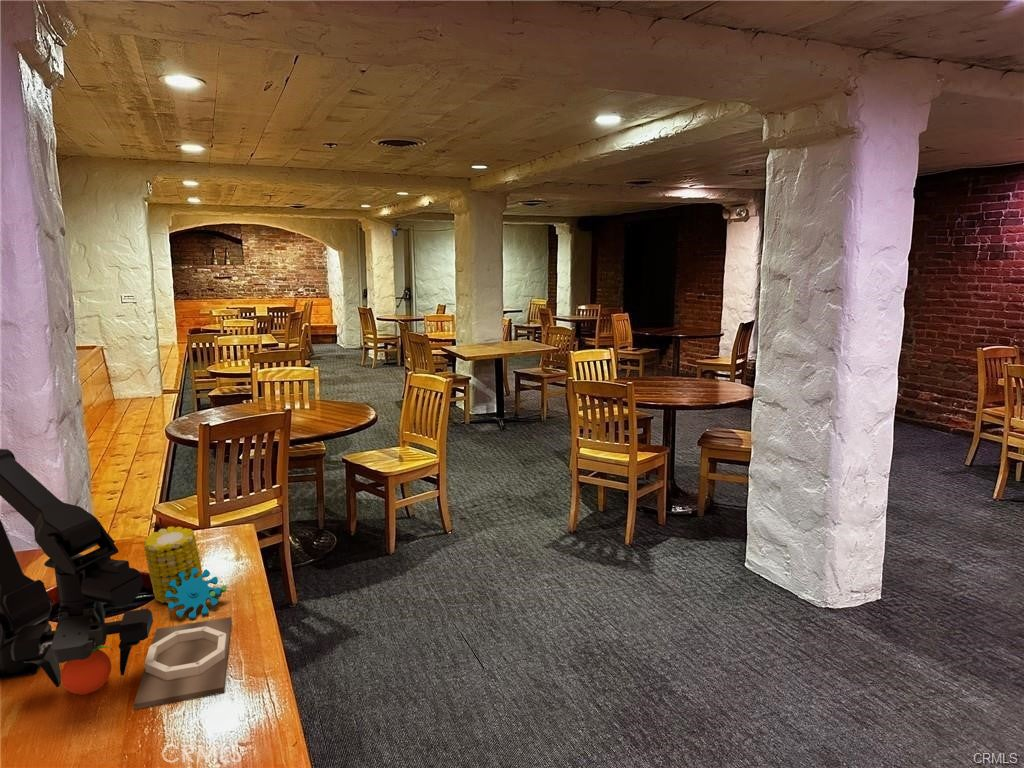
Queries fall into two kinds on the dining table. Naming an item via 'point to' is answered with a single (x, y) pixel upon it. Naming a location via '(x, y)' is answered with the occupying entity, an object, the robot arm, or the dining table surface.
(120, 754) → the dining table surface
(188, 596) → the blue knobbed toy
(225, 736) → the dining table surface
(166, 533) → the food
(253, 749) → the dining table surface
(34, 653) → the robot arm
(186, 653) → the board
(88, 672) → the clementine
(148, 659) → the seat ring
